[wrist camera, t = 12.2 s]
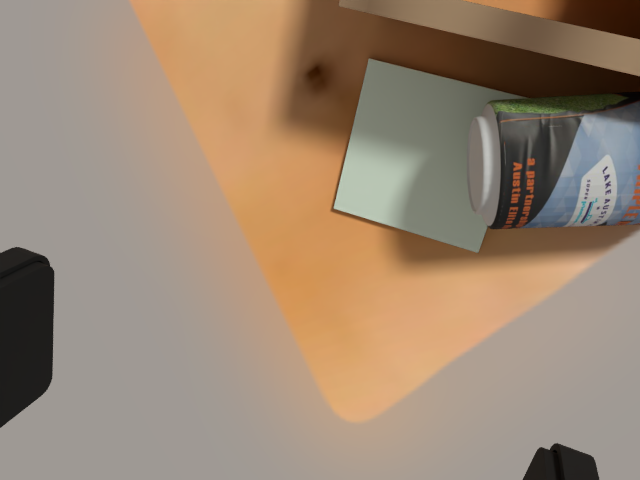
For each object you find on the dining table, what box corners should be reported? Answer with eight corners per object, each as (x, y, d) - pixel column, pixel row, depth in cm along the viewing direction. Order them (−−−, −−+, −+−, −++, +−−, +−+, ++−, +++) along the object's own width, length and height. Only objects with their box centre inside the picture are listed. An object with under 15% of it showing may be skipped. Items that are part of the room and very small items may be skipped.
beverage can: (469, 152, 22) (819, 159, 20) (472, 60, 27) (753, 56, 24) (460, 256, 27) (745, 275, 24) (465, 161, 32) (702, 168, 29)
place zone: (335, 206, 34) (333, 208, 34) (370, 58, 31) (368, 58, 31) (478, 250, 33) (478, 253, 32) (532, 98, 29) (533, 99, 29)
